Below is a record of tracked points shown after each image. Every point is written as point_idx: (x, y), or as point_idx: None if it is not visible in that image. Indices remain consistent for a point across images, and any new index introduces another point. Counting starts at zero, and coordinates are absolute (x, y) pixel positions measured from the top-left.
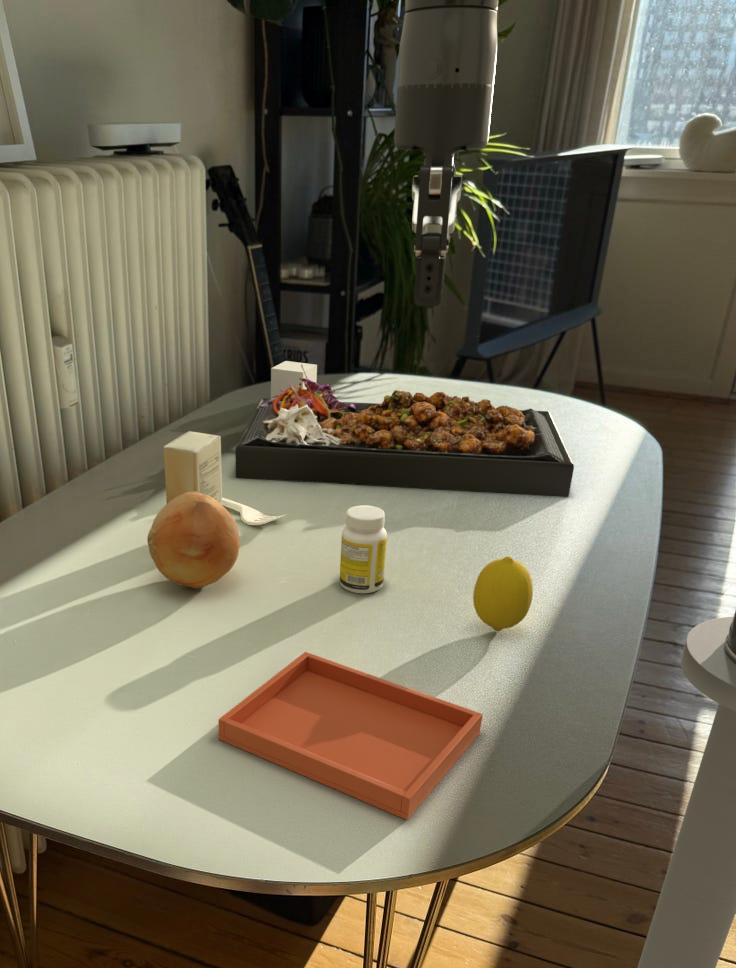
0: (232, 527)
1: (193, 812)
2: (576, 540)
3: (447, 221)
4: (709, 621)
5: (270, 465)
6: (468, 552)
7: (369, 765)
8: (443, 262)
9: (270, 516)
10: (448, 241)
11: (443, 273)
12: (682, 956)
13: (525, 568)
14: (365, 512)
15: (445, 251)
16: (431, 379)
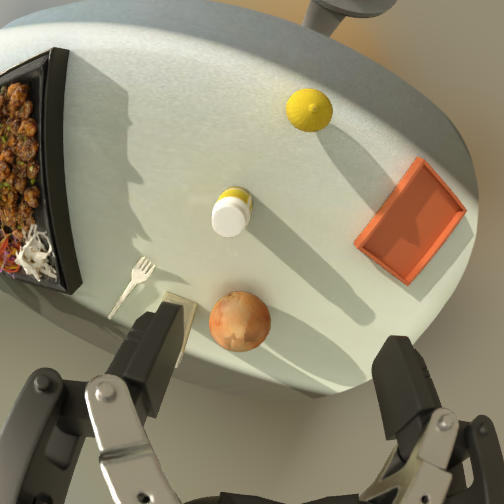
0: (245, 310)
1: (439, 284)
2: (142, 37)
3: (501, 460)
4: None
5: (72, 267)
6: (168, 115)
7: (436, 218)
8: (432, 400)
9: (138, 264)
10: (490, 426)
11: (168, 332)
12: None
13: (314, 94)
14: (228, 222)
15: (456, 417)
16: None
